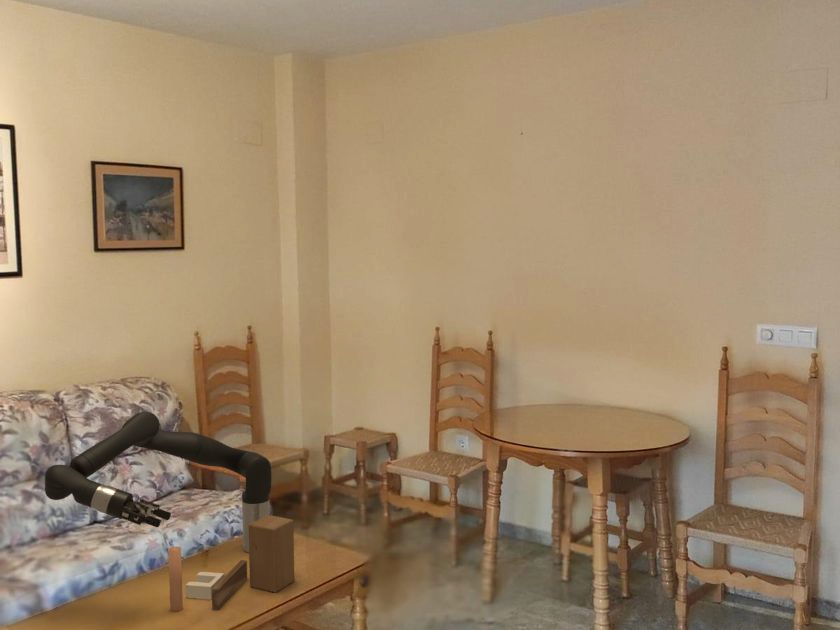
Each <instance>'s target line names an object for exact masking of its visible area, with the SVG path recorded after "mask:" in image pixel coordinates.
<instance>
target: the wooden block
mask: <svg viewBox="0 0 840 630" xmlns="http://www.w3.org/2000/svg"><path fill="white" fill-rule="evenodd" d="M294 533H295V531H294V519H290V518H285V517H281V516H275V515H272V514H271V515H267V516H265V517H263V518H261V519H259V520H257V521H255V522H253V523H251V524H249V552H248V554H249V556H248V558H249V559H248V560H249V563H248V564H249V587H251V588H254V589H258V590H262V591H266V592H271V593H277V592H279V591H280V590H282V589H284V588H286V587H287V586H289V585H290V584H292V583H294V582H295V542H294V541H295V538H294V535H295V534H294Z"/></svg>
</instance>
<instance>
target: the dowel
mask: <svg viewBox="0 0 840 630" xmlns="http://www.w3.org/2000/svg"><path fill="white" fill-rule="evenodd" d="M167 551H168V552H167V553H168V577H169V579H168V581H169V582H168V583H169V610H170V611H171V612H173V613H176V612H180V611H182V610H183V609H184V608H183V606H184V605H183V603H184V601H183V597H184V596H183V573H182V571H183V569H182V547H180V546H172V547H169V548H168V550H167Z"/></svg>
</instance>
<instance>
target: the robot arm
mask: <svg viewBox="0 0 840 630" xmlns="http://www.w3.org/2000/svg"><path fill="white" fill-rule="evenodd" d="M131 447H137V448H143V449H147V450H153V451H157V452H161V453H164V454H167V455H170V456H173V457H176V458H180V459H182V460H183V459H184V460H186V461H189V462H192V463H195V464H197V465H203V466H206V467H216V468H217V467H219V468H223V469H227V470H228V471H232V472H234V473H235V474H238V475H240V476H242V477H243V478H245V490H243V492H242V494H241V507H242V508H241V510H242V515H241V516H242V549H243V551H244V552H246V553H249V524H251V523H253V522H255V521H257V520H259V519H261V518H263V517H265V516H267V515H270V494H271V492H272V466H271V462H270V460H269V459H268V458H267V457H265V456H263V455H262V454H260V453H258V452H254V451H253V452H252V451H249V450H248V451H247V450H243V449H241V448H235V447H231V446H229V445H228V444H226V443H223V442H221V441H219V440H216V439H214V438H212V437H209V436H206V435H204V434H200V433H197V432H191V431H190V432H189V431H169V430H163V429H162V428H160V420H159V418H158V416H156V414H155V413H153V412H150V411H139V412H138V413H136V414H134V415H132V417H130V418H128V420H126V422H124V423H123V424H122V426H121V428H120V429H119V430H117V431H116V432H114V433H112V434H111V435H110V436H108V437H106V438H105V439H103V440H101V441H99V442H98V443H95V444H94V445H93V446H91V447H89V448H88V449H85V450H84V451H83V452H81V453H79V454H78V455H76V456H74V458H72V459H71V460H70V462H69V465H65V464H54V465H51V466H49V467H48V468H47V469H46V471H45V475H44V493H45V496H46V497H47V498H48V499H50V500H53V501H60V500H63V499H66V498H68V497H69V496H71V494H72V496H73V500H74V501H75V502H76V503H78V504H80V505H83V506H86V507H88V508H91V509H93V510H95V511H97V512H99V513H102V514H105V515H108V516H111V517H113V518H116V519H119V520H126V521H128V522H131V523H133V524H136V525H138V526H140V525H145V524H146V525H149V526H152V527H154V528H159V527H160V525H161V523H162V520H161V519H163V520H165V521H168V520H170V518H171V517H172V516H171V515H172V513H171V512H170V511H168V510H164V509H162V508H161V507H160V506H161V505H159V504H157V503H154V502H150V501H147V500H145V499H141V498H140V499H139V501H134V495H133V493H131V492H128V491H125V490H123V489H119V488H117V487H114V486H111V485H107V484H102V483H99V482H98V481H96V480H95V481H94V480H91V479H89V478H88V477H90V476H92V475H94V474H95V473H97V472H98V471H99V470H101V469H103V468H104V467H106V466H107V465H108V464H109V463H111V462H112V461H113V460H114V459H116V458H117V457H118V456H119V455H121V454H122V453H124V452H126V451H127V450H128V449H129V448H131Z"/></svg>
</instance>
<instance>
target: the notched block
mask: <svg viewBox="0 0 840 630" xmlns="http://www.w3.org/2000/svg"><path fill="white" fill-rule="evenodd" d="M195 576H196V581H189V582H187V583H186V584H185V598H186V597H188V598H187V599H193V598H196V599H195V600H209V601H212V589H213V588H214V587H215V586H216V585H217V584H218V583H219V582H220V581H221V580H222V579H223V578H224V577H225V573H223V572H210V571H209V572H207V571H199V572H198V573H197V574H196V575H195Z"/></svg>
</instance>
